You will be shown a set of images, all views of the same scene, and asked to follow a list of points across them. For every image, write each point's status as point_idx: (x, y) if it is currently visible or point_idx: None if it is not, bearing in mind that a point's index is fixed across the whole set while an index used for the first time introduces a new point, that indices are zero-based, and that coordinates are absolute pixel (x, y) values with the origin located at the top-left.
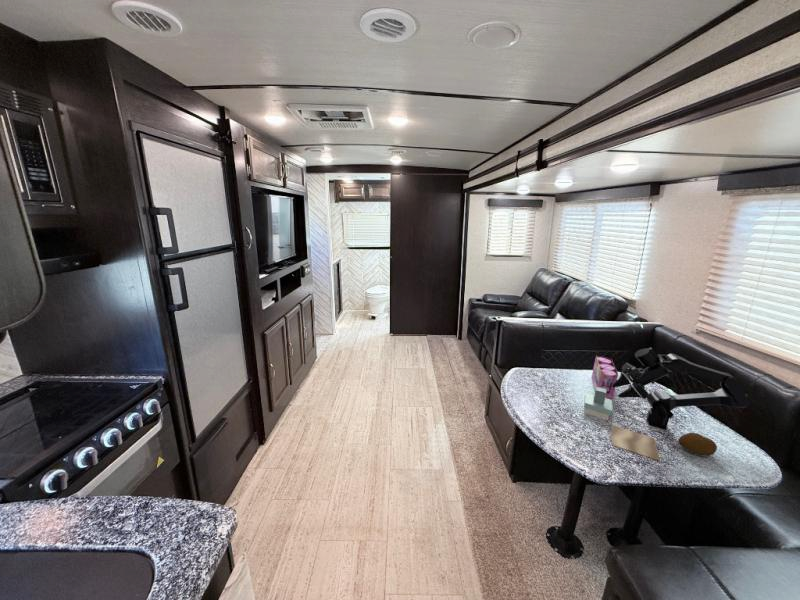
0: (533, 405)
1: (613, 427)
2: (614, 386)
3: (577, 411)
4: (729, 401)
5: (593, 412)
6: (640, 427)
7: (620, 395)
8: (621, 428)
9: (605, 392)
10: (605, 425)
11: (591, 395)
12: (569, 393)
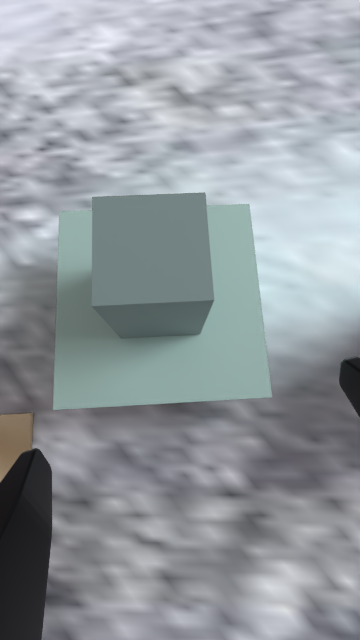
0: (8, 39)
1: (3, 429)
2: (352, 392)
3: None
4: None
5: None
6: (137, 608)
7: (8, 486)
8: None
9: (99, 295)
10: (16, 383)
11: (229, 244)
12: (296, 167)
